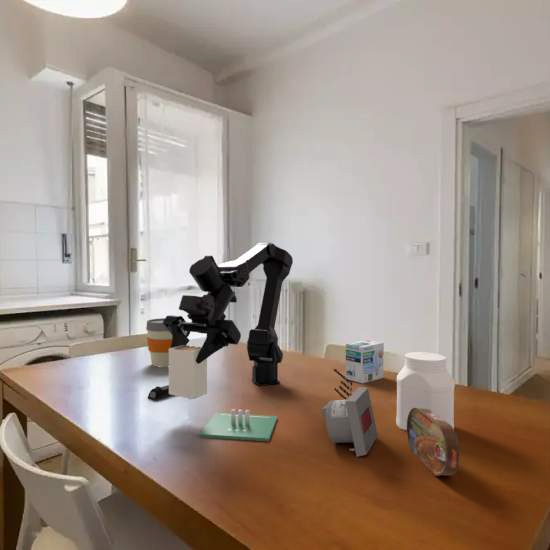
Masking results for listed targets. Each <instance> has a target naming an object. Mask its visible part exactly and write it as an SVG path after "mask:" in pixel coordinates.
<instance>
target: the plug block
mask: <svg viewBox="0 0 550 550" xmlns="http://www.w3.org/2000/svg"><path fill="white" fill-rule="evenodd" d="M201 348H202V346H195V345H188V344H187V345H186V346H185V345H181V346H177V347H173V348H169V367H168V385H169V394H170V395H169V396H176V397H179V398H180V397H181V398H185V399H186V398H187V399H189V400H195V399H197V398H198V399H199V398H201V397H203V396H204V395H207V394H208V358H206V359H205V360H204V361H202V362H201V363H199V364H198V363H197V362H196V358H197V356H198V354H199V352H200V350H201Z"/></svg>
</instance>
